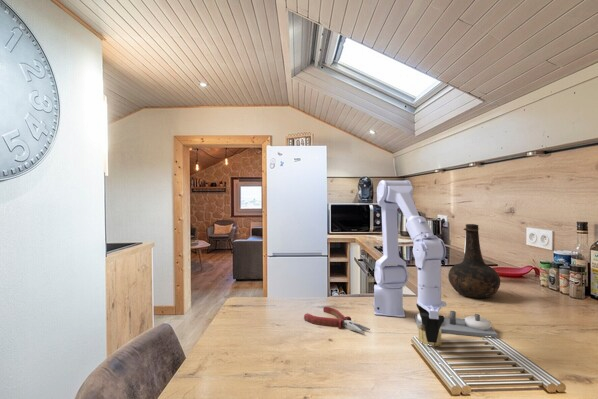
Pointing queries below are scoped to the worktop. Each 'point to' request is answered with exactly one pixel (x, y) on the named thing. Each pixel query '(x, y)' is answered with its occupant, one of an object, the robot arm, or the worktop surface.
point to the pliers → (335, 320)
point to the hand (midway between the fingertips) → (429, 336)
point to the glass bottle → (473, 270)
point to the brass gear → (423, 336)
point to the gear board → (464, 325)
